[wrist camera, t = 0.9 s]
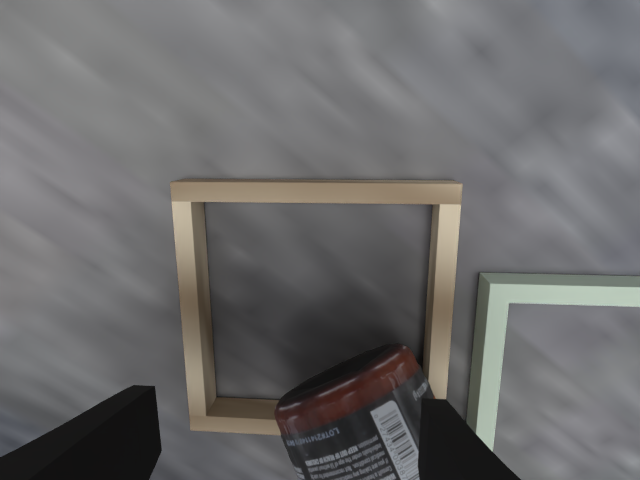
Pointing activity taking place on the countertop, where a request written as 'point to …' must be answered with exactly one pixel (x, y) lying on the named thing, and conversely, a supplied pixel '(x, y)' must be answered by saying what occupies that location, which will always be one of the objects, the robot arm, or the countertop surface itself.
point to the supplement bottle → (357, 418)
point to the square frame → (493, 321)
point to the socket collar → (194, 192)
